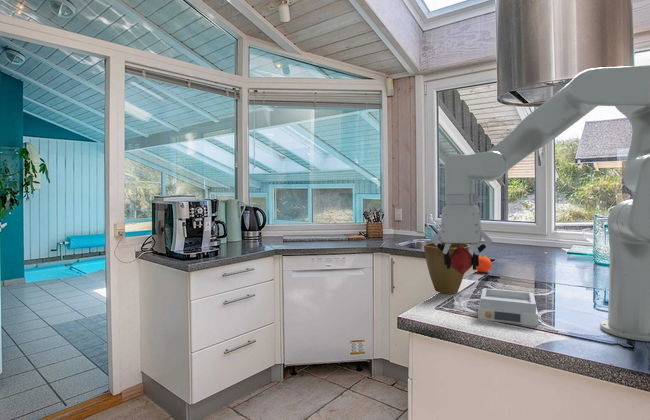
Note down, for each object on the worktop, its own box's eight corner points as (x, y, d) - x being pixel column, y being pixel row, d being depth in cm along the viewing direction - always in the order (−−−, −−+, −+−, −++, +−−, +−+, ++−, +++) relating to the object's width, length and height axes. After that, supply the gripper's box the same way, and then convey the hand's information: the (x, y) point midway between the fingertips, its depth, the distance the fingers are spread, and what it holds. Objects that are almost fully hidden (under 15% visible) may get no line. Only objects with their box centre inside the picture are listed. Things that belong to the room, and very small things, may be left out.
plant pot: (434, 284, 145) (434, 240, 145) (475, 290, 136) (475, 244, 135) (415, 291, 134) (416, 244, 133) (459, 299, 124) (459, 248, 124)
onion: (458, 277, 102) (458, 246, 102) (446, 273, 108) (445, 244, 107) (477, 275, 104) (477, 244, 103) (464, 271, 109) (463, 242, 109)
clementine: (482, 270, 173) (482, 253, 172) (496, 272, 167) (496, 255, 167) (470, 271, 168) (470, 255, 168) (484, 274, 163) (485, 257, 162)
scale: (534, 311, 111) (534, 292, 111) (538, 326, 98) (538, 305, 98) (481, 305, 117) (481, 287, 117) (477, 319, 104) (478, 299, 104)
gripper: (495, 200, 105) (497, 267, 105) (429, 201, 112) (431, 265, 113) (494, 200, 98) (496, 272, 99) (424, 202, 105) (426, 269, 106)
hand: (461, 267), depth 106 cm, fingers closed on onion, 5 cm apart
